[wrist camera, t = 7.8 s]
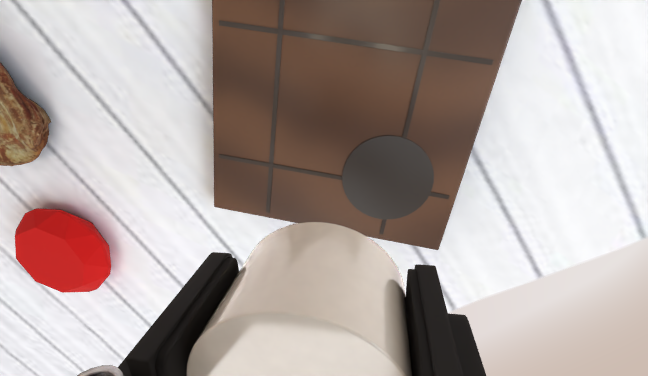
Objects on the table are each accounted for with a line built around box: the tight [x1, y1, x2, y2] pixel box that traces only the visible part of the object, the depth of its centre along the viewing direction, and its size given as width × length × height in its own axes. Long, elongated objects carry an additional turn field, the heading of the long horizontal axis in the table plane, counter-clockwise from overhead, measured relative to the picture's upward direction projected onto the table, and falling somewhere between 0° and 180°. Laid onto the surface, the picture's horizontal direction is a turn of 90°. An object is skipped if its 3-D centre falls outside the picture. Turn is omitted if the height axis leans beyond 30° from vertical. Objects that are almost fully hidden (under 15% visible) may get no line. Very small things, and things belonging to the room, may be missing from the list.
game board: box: [212, 0, 522, 250], centre depth 23 cm, size 18×18×2 cm
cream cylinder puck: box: [186, 222, 414, 376], centre depth 9 cm, size 5×5×4 cm
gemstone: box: [15, 208, 111, 292], centre depth 31 cm, size 9×9×3 cm
